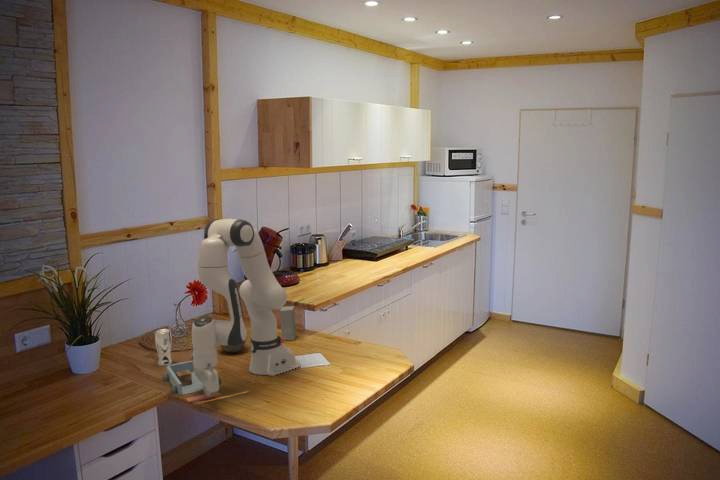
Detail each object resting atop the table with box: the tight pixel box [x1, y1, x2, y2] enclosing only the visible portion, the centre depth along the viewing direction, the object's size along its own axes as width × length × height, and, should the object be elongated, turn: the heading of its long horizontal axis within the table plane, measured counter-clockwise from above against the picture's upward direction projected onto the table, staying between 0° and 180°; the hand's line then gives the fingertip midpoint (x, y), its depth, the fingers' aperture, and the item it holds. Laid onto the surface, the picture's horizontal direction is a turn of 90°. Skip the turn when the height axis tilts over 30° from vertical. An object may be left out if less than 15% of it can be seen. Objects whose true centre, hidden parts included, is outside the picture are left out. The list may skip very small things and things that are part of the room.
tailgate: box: [185, 391, 221, 403], centre depth 220 cm, size 12×1×8 cm
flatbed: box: [161, 360, 222, 396], centre depth 233 cm, size 19×22×6 cm
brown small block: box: [176, 370, 192, 386], centre depth 231 cm, size 5×5×4 cm
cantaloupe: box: [219, 319, 247, 353], centre depth 270 cm, size 14×14×15 cm
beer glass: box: [154, 328, 173, 367], centre depth 256 cm, size 7×7×15 cm
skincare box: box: [279, 305, 297, 341], centre depth 288 cm, size 8×7×16 cm
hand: (207, 394), depth 219 cm, fingers closed
